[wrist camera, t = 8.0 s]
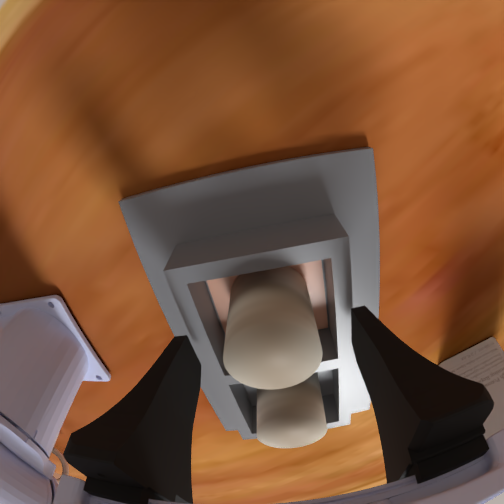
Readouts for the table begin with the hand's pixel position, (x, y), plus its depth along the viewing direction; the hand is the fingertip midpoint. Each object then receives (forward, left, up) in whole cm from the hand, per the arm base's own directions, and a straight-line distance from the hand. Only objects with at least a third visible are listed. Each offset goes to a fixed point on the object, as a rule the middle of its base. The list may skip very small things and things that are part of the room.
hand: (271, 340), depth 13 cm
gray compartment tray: (0, -3, -4) cm, 5 cm away
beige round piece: (0, -7, -3) cm, 8 cm away
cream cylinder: (0, 0, -3) cm, 3 cm away
